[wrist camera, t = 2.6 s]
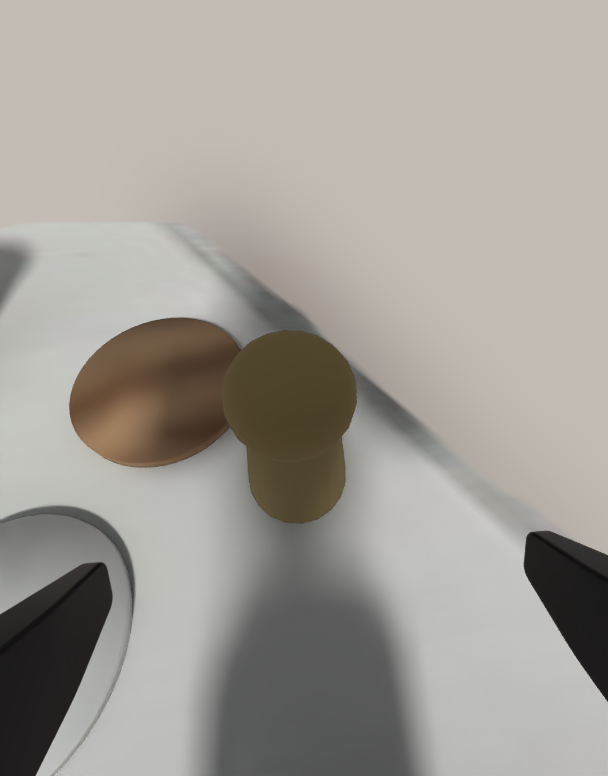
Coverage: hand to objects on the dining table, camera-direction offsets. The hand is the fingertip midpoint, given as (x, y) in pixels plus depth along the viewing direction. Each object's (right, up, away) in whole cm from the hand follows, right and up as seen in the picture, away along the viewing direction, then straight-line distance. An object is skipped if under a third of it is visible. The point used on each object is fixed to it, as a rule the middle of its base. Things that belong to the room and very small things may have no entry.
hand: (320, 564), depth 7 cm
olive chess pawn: (-1, -2, +14) cm, 14 cm away
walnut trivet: (-10, +4, +17) cm, 21 cm away
